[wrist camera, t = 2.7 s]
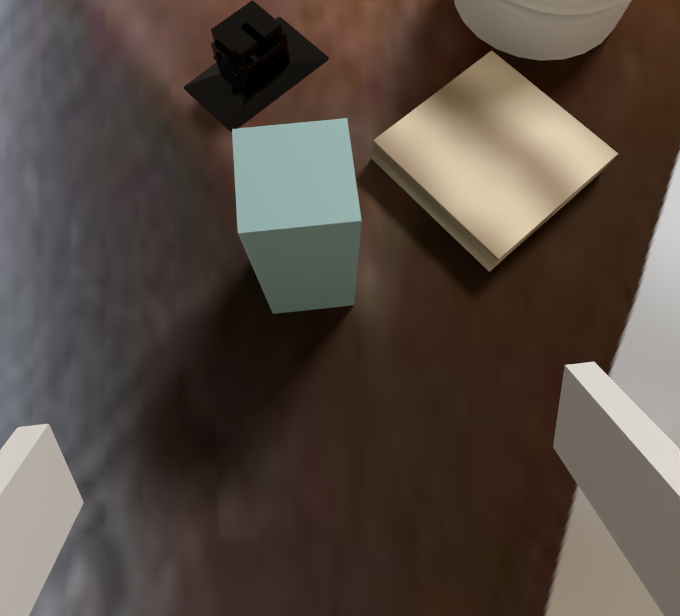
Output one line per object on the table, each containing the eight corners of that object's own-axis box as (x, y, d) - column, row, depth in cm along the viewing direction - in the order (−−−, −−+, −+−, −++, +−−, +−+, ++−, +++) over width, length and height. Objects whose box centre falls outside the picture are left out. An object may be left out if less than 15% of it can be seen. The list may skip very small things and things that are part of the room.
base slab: (487, 274, 32) (498, 259, 29) (371, 162, 34) (373, 140, 32) (598, 175, 34) (618, 153, 32) (481, 77, 37) (491, 50, 34)
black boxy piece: (223, 159, 35) (206, 115, 30) (158, 97, 36) (133, 46, 32) (351, 59, 37) (352, 5, 33) (285, 5, 39) (278, -54, 34)
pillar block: (353, 305, 31) (361, 220, 20) (272, 313, 30) (237, 233, 20) (344, 231, 32) (346, 118, 22) (267, 239, 32) (231, 129, 22)
